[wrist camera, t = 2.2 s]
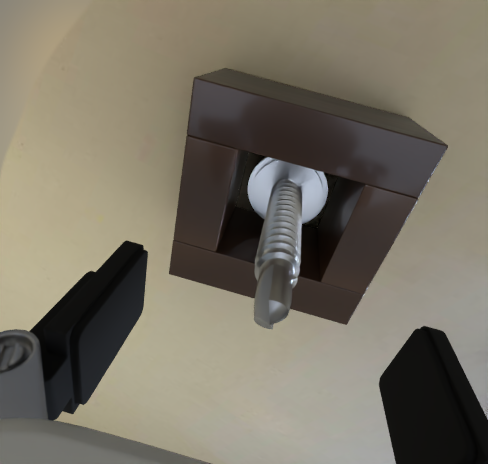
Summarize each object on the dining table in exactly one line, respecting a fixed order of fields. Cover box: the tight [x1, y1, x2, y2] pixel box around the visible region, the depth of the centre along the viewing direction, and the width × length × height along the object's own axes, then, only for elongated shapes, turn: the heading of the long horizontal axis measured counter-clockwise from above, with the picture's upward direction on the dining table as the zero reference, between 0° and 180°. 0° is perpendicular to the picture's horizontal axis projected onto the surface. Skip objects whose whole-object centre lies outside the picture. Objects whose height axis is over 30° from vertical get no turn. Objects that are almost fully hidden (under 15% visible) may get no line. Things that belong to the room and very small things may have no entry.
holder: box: [169, 68, 448, 325], centre depth 19 cm, size 11×11×6 cm
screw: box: [248, 157, 328, 329], centre depth 16 cm, size 13×5×5 cm
